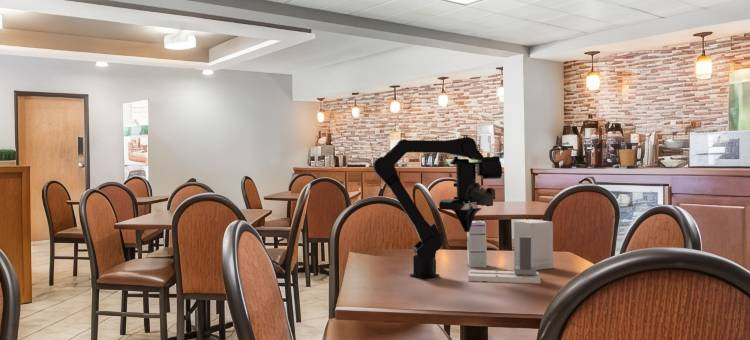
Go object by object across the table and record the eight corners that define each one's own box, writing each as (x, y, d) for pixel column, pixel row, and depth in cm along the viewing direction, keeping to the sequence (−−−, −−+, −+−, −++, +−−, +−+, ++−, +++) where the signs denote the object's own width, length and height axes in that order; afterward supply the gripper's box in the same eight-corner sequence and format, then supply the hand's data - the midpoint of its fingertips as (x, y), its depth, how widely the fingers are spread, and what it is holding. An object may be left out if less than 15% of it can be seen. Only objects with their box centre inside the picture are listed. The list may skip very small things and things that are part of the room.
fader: (514, 274, 168) (514, 237, 168) (513, 270, 174) (513, 234, 174) (536, 275, 167) (536, 237, 167) (534, 271, 173) (534, 235, 173)
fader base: (468, 281, 169) (468, 274, 169) (469, 274, 178) (469, 268, 178) (540, 283, 165) (540, 277, 165) (537, 277, 174) (537, 271, 174)
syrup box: (487, 267, 190) (487, 222, 190) (468, 267, 190) (468, 222, 190) (484, 264, 196) (484, 220, 195) (466, 264, 196) (466, 220, 195)
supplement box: (554, 268, 188) (554, 221, 187) (531, 271, 184) (531, 222, 184) (534, 264, 196) (534, 218, 196) (513, 266, 192) (513, 220, 192)
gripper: (467, 181, 164) (468, 237, 164) (507, 178, 176) (508, 231, 177) (437, 180, 172) (438, 234, 173) (477, 178, 185) (478, 228, 185)
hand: (467, 231), depth 177 cm, fingers closed
